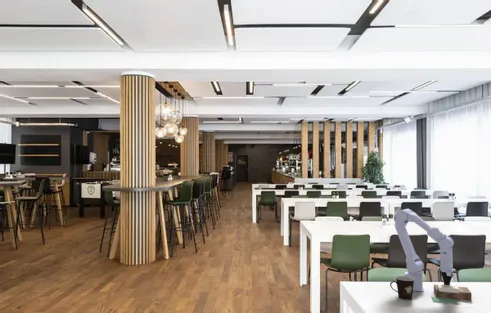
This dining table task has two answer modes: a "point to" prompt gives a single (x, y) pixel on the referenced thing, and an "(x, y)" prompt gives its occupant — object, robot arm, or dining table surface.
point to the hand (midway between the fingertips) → (446, 286)
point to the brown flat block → (455, 294)
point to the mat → (444, 300)
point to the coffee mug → (404, 287)
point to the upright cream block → (448, 288)
